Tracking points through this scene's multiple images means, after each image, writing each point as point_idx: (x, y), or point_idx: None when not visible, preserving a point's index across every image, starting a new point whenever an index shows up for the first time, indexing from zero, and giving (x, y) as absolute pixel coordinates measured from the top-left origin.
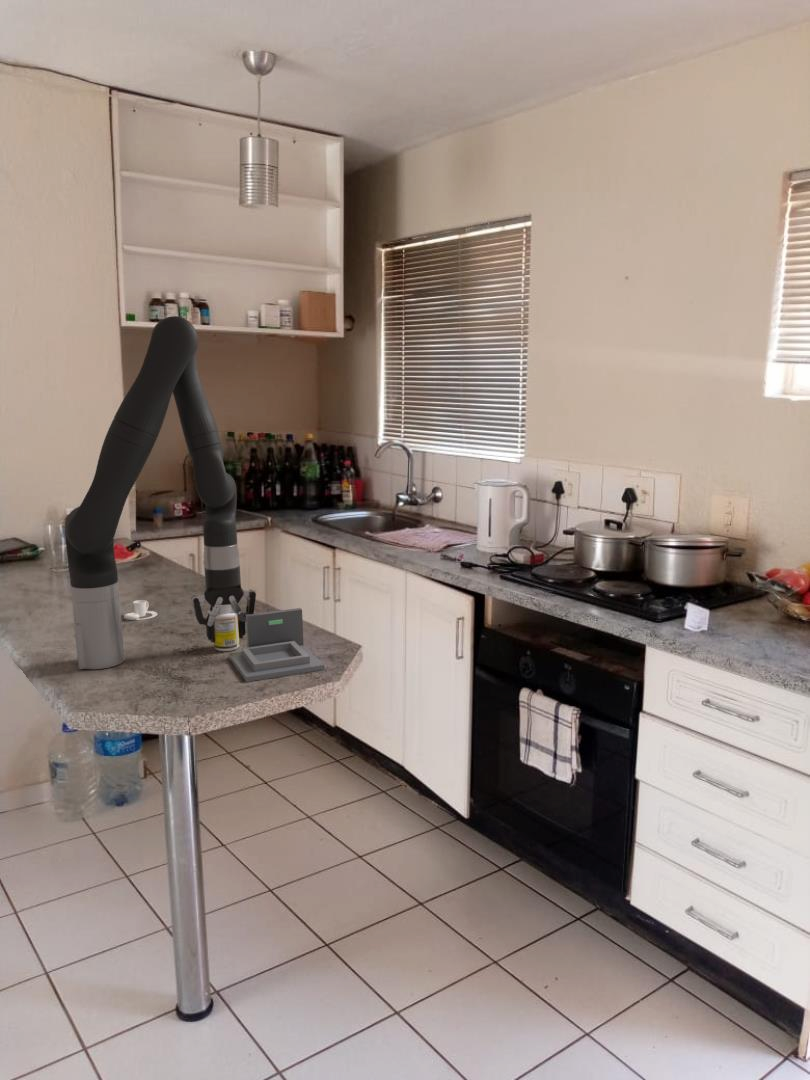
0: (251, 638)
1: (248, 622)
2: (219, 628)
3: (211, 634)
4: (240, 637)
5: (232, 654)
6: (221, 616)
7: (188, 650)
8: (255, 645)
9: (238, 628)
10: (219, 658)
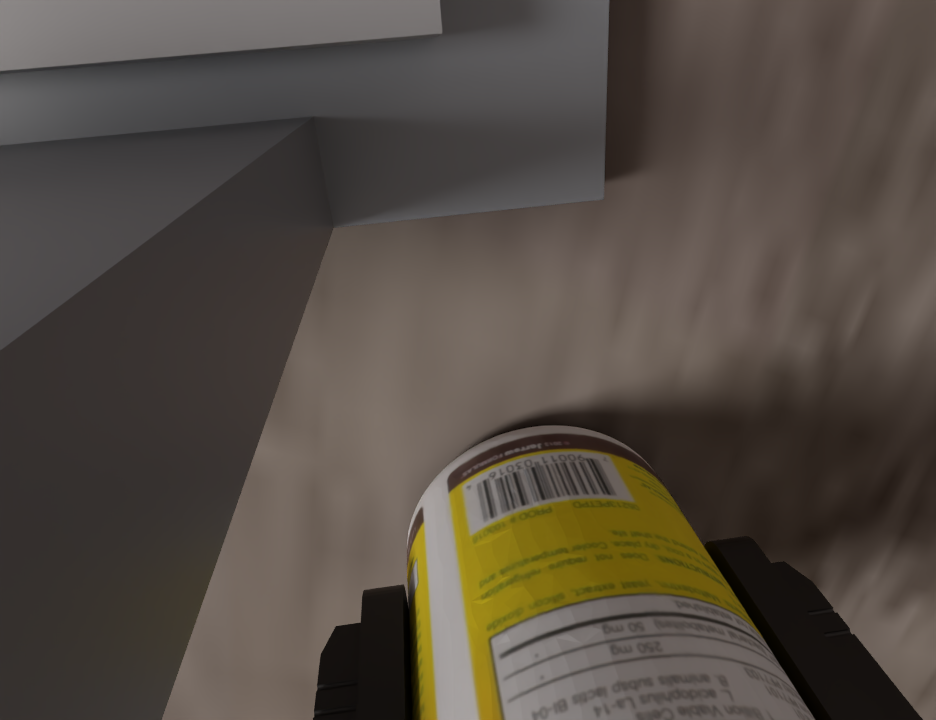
0: (192, 158)
1: (8, 292)
2: (762, 666)
3: (802, 612)
4: (396, 589)
5: (567, 130)
6: None
7: (861, 545)
8: (165, 141)
9: (420, 706)
10: (691, 220)
